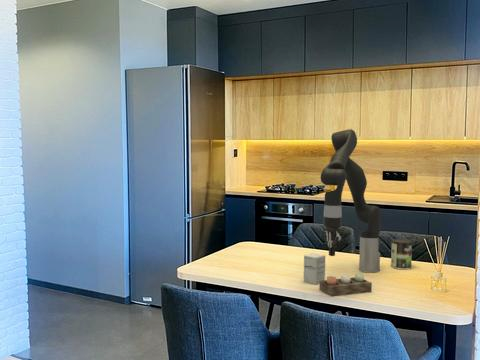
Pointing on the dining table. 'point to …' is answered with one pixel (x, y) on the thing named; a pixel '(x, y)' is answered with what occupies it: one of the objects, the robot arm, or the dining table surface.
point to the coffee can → (401, 254)
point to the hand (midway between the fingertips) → (331, 255)
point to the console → (345, 287)
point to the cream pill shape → (345, 279)
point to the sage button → (359, 277)
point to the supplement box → (314, 268)
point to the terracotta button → (331, 280)
